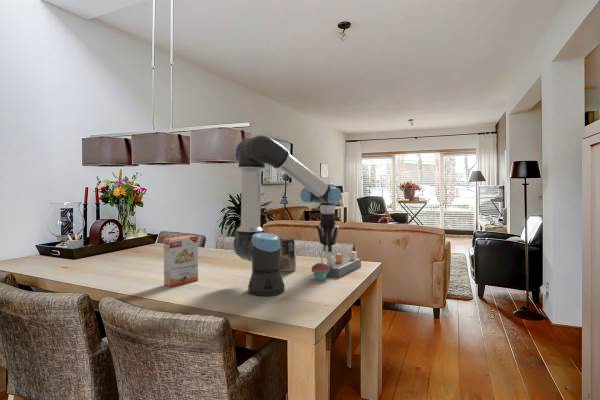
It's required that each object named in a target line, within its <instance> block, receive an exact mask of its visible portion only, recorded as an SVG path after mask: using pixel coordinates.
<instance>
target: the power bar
mask: <svg viewBox="0 0 600 400" xmlns="http://www.w3.org/2000/svg"><path fill="white" fill-rule="evenodd" d="M329 267H330V268H329V269H330V270H329V272H328V273H327V275H326V277H327V276H328V277H334V278H341V277H343V276H345V275H347V274H349V273H351V272H352V271H354V270H356V269H358V268H360V267H362V259H361V258H358V257H357V259H356V260H350V256H349V257H348V256H344V257H343V262H340V263H339V262H336V260H334V265H333V266H329Z"/></svg>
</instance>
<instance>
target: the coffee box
mask: <svg viewBox="0 0 600 400" xmlns="http://www.w3.org/2000/svg"><path fill="white" fill-rule="evenodd" d="M279 239H280V272H295V271H296V270H297V259H296V258H297V257H296V255H297V254H296V250H297V249H296V237H292V238H291V237H279Z"/></svg>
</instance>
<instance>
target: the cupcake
mask: <svg viewBox="0 0 600 400" xmlns="http://www.w3.org/2000/svg"><path fill="white" fill-rule="evenodd" d="M323 253H324V252H322V254H321V261H320V263H319V262H318V263H315V264H314V265H312V267H311V273H313V275H314V278H315V279H316V280H318V281H320V280H321V281H322V280H326V278H327V273H328V272H329V270H330V269H329V268H330V267H329V266H328V265H327V263H323V262H324V254H323Z"/></svg>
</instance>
